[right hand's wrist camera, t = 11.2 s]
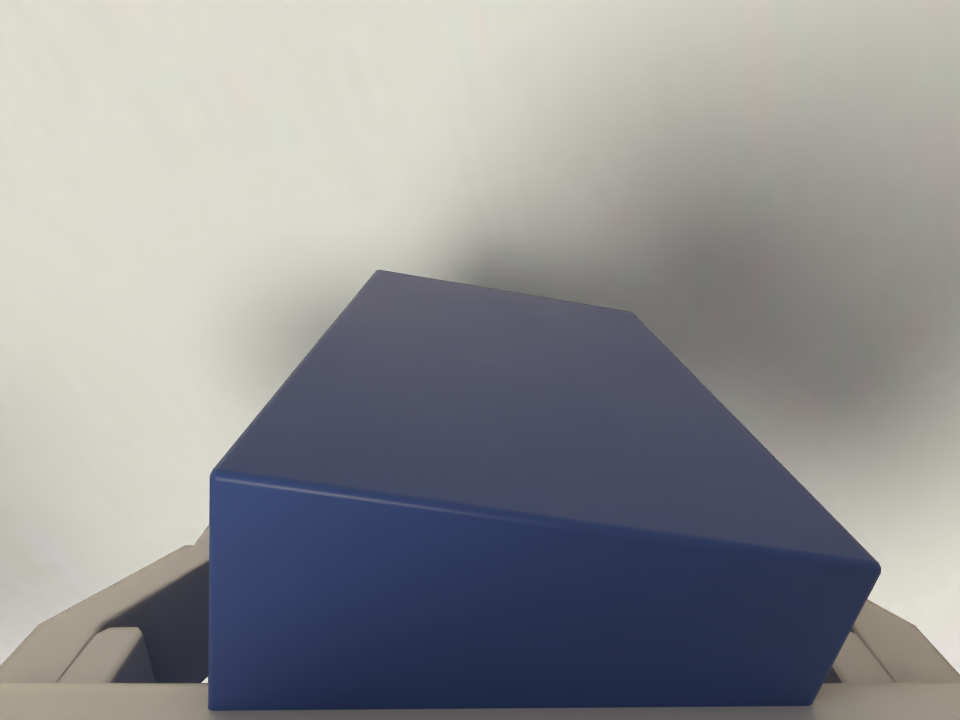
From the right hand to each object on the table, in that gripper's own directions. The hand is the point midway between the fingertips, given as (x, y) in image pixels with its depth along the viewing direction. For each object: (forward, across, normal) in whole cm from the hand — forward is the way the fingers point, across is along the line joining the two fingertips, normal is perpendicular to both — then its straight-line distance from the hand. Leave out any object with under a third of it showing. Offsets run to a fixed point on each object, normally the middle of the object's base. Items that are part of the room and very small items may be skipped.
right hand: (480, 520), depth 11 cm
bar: (+3, -1, -8) cm, 8 cm away
